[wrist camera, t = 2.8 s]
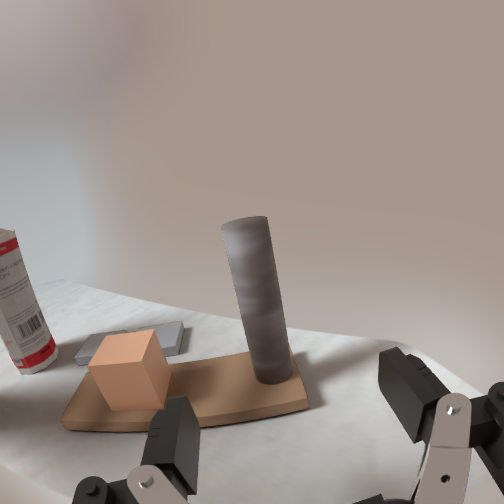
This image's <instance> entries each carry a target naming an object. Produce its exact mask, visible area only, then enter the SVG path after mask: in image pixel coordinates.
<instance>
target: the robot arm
mask: <svg viewBox="0 0 504 504" xmlns="http://www.w3.org/2000/svg"><path fill="white" fill-rule="evenodd" d="M378 383H379V387H380V390H381V392H382V394H383V396H384V397H385V399H386V400H387V402H388V403H389V405H390V406H391V408H392V410H393V411H394V413H395V414H396V416H397V418H398V419H399V421H400V422H401V424H402V425H403V427H404V429H405V430H406V432H407V433H408V435H409V437H410V438H411V440H412V442H413V443H414V444H415V443H417V442H419V441H421V440H423V441H424V443H425V444H426V445H425V448H424V451H423V455H422V459H421V463H420V467H419V470H418V474H417V477H416V480H415V484H414V487H413V489H412V492H411V495H410V497H409V500H405V499H387V500H384V499H383V497H382V495H381V494H379V495H377V496H374V497H371V498H368V499H365V500H362V501H359V502H356V503H353V504H463V501H464V496H465V491H466V486H467V480H468V474H469V468H470V461H471V453H472V450H471V448H473V447H474V449H475V450H476V452H477V453H478V455H479V456H480V458H481V459H482V461H483V463H484V464H485V466H486V467H487V469H488V471H489V472H490V474H491V475H492V477H493V479H494V480H495V482H496V484H497V485H498V487H499V489H500V490H501V492H502V494H503V495H504V382H498V383H496V384H494V385H493V386H492V387H491V388H490V389H489V392H488V395H485V396H481V397H477V398H473V399H468V398H467V397H466V396H464V395H462V394H459V393H451V392H450V391H449V390H448V389H447V388H446V387H445V386H444V384H443V383H442V382H441V381H440V380H439V379H438V378H437V377H436V376H435V374H434V373H432V371H431V370H430V369H429V368H428V367H427V366H426V365H425V363H424V362H423V361H422V360H421V359H420V358H418V357H416V356H414V355H411V354H409V355H406V356H405V355H404V353H403V352H402V351H401V350H400V349H399V348H398V347H394V348H391V349H388V350H385V351H382V352H380V354H379V371H378ZM149 429H150V430H149V432H148V438H147V440H146V444H145V448H144V452H143V457H142V461H141V465H140V466H139V467H137V468H135V469H134V470H132V471H131V473H130V474H129V475H128V478H127V479H124V480H120V481H116V482H111V483H106V482H105V481H104V480H103V479H102V478H100V477H96V476H91V477H87V478H85V479H83V480H82V481H81V482H80V483H79V484H78V485H77V488H76V491H75V495H74V498H73V502H72V504H189V503H188V502H187V496H188V495H197V478H198V461H199V445H200V426H199V422H198V419H197V417H196V415H195V413H194V410H193V408H192V406H191V404H190V401H189V399H188V397H187V396H177V397H169V398H168V399H167V402H166V407H165V410H158V411H157V413H156V414H155V415H154V417H153V418H152V420H151V424H150V428H149Z"/></svg>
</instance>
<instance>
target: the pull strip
mask: <svg viewBox="0 0 504 504" xmlns="http://www.w3.org/2000/svg"><path fill="white" fill-rule="evenodd" d="M221 228H222V233H223V238H224V242H225V247H226V251H227V256H228V261H229V265H230V269H231V274H232V279H233V283H234V287H235V292H236V296H237V300H238V305H239V309H240V313H241V317H242V322H243V326H244V331H245V335H246V339H247V343H248V347H249V351H250V352H245V353H240V354H234V355H229V356H223V357H217V358H211V359H205V360H198V361H192V362H185V363H178V364H170V365H168V366H169V368H170V371H171V377H170V381H169V385H168V390H167V394H166V399H165V403H164V408H160V409H145V410H124V411H112V410H111V408H110V407H109V405H108V403H107V402H106V400H105V398H104V396H103V395H102V393H101V391H100V389H99V387H98V386H97V384H96V382H95V380H94V378H93V376H92V374H91V373H90V372H87V373H86V375H85V377H84V378H83V380H82V382H81V383H80V385H79V387H78V389H77V390H76V392H75V394H74V396H73V397H72V399H71V401H70V403H69V405H68V406H67V408H66V410H65V412H64V414H63V416H62V417H61V419H60V421H61V423H62V424H63V426H64V427H65V428H66V429H69V430H85V431H149V430H150V429H149V428H150V424H151V420H152V418H153V417H154V415H155V414H156V413H157V411H158V410H165V407H166V402H167V399H168V398H169V397H177V396H187V397H188V399H189V401H190V404H191V406H192V408H193V410H194V413H195V415H196V417H197V419H198V422H199V426H200V427H206V426H215V425H222V424H230V423H236V422H243V421H249V420H255V419H260V418H266V417H271V416H276V415H281V414H285V413H290V412H294V411H299V410H303V409H307V408H309V406H308V398H307V395H306V392H305V389H304V386H303V383H302V380H301V377H300V375H299V372H298V369H297V366H296V363H295V360H294V357H293V354H292V351H291V348H290V345H289V343H288V336H287V330H286V325H285V318H284V312H283V307H282V300H281V294H280V288H279V282H278V277H277V271H276V265H275V259H274V254H273V248H272V243H271V237H270V232H269V226H268V220H267V217H265V216H256V217H255V216H254V217H247V218H242V219H237V220H234V221H230V222H228V223H225V224H223V225H222V226H221Z"/></svg>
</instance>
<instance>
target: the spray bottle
mask: <svg viewBox="0 0 504 504" xmlns="http://www.w3.org/2000/svg"><path fill="white" fill-rule="evenodd" d="M0 336H1V339H2V341H3V343H4V345H5V347H6V349H7V351H8V353H9V355H10V357H11V359H12V361H13V362H14V364H15V366H16V368H17V370H18V371H19V372H20V373H21V374H33V373H36V372H38V371H40V370H42V369H45V368H46V367H48V366H49V365H50V364H51V363H52V362H53V361H54V360H55V359H56V358H57V355H58V352H59V350H58V348H57V346H56V344H55V342H54V339H53V337H52V335H51V333H50V331H49V328H48V326H47V324H46V322H45V319H44V317H43V314H42V312H41V309H40V307H39V304H38V302H37V299H36V297H35V294H34V291H33V289H32V286H31V283H30V280H29V277H28V274H27V271H26V268H25V265H24V262H23V259H22V256H21V252H20V249H19V245H18V242H17V238H16V235H15V231H10V230H5V229H0Z"/></svg>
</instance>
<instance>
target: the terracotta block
mask: <svg viewBox="0 0 504 504" xmlns="http://www.w3.org/2000/svg"><path fill="white" fill-rule="evenodd" d="M87 367H88V369H89V371H90V373H91V374H92V376H93V378H94V380H95V382H96V384H97V386H98V387H99V389H100V391H101V393H102V395H103V396H104V398H105V400H106V402H107V403H108V405H109V407H110V408H111V410H112V411H124V410H145V409H160V408H164V403H165V399H166V394H167V390H168V385H169V381H170V377H171V371H170V368H169V366H168V363H167V361H166V358H165V356H164V353H163V351H162V348H161V346H160V343H159V340H158V338H157V335H156V332H155V329H150V330H144V331H137V332H130V333H123V334H116V335H108V336H106V337H105V339H104V340H103V342H102V343H101V345H100V346H99V348H98V350H97V351H96V353H95V354H94V356H93V358H92V359H91V361H90V362H89V364H88V366H87Z"/></svg>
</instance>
